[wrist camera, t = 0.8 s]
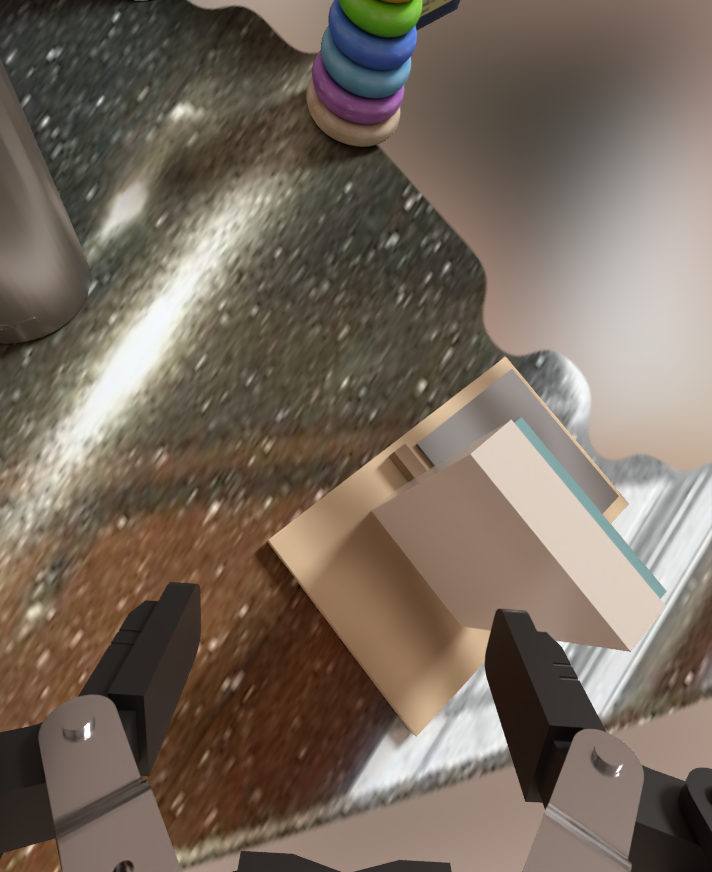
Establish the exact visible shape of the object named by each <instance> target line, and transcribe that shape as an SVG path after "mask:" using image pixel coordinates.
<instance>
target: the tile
mask: <svg viewBox="0 0 712 872" xmlns="http://www.w3.org/2000/svg"><path fill="white" fill-rule="evenodd" d="M371 511H372V513H373V514H374V515H375V516H376V518H377V519H378V520H379V522H380V523H381V524H382V525H383V527H384V528H385V529H386V531H387V532H388V533H389V534H390V536H391V537H392V538H393V540H394V541H395V542H396V543H397V545H398V546H399V547H400V548H401V550H402V551H403V552H404V554H405V555H406V556H407V557H408V559H409V560H410V561H411V563H412V564H413V565H414V566H415V568H416V569H417V570H418V572H419V573H420V574H421V575H422V577H423V578H424V579H425V581H426V582H427V583H428V584H429V586H430V587H431V588H432V589H433V591H434V592H435V593H436V595H437V596H438V597H439V598H440V600H441V601H442V602H443V604H444V605H445V606H446V607H447V609H448V610H449V611H450V613H451V614H452V615H453V616H454V618H455V619H456V620H457V622H458V623H459V624H460V625H461V626H462V627H469V628H476V629H482V630H489V631H491V628H492V623H493V619H494V615H495V612H496V610H497V609H512V610H525V611H527V612H528V613H529V615H530V617H531V619H532V621H533V623H534V626H535V628H536V630H537V631H540V632H547V633H548V634H549V635H550V636H551V637H552V638H553V639H554V640H556V641H563V642H569V643H576V644H583V645H589V646H596V647H603V648H610V649H616V650H623V651H630V652H631V651H632V650H633V648H634V647H635V646H636V645H637V643H638V642H639V641H640V639H641V638H642V637H643V635H644V634H645V633H646V632H647V630H648V629H649V628H650V626H651V625H652V624H653V622H654V621H655V620H656V619H657V617H658V616H659V615H660V613H661V612H662V611H663V610H664V608H665V607H666V606H665V604H664V603H663V602H662V601H661V600H660V599H661V598H662V596H663V595H664V594H665V593H666V590H665V589H664V588H663V587H662V585H661V584H660V583H659V582H658V580H657V579H656V578H655V577H654V576H653V574H652V573H651V572H650V571H649V570H648V568H647V567H646V566H645V565H644V564H643V562H642V561H641V560H640V559H639V558H638V556H637V555H636V554H635V553H634V552H633V550H632V549H631V548H630V547H629V546H628V544H627V543H626V542H625V541H624V540H623V538H622V537H621V536H620V535H619V534H618V532H617V531H616V530H615V529H614V528H613V526H612V525H611V524H610V523H609V522H608V520H607V519H606V518H605V517H604V516H603V514H602V513H601V512H600V511H599V509H598V508H597V507H596V506H595V505H594V503H593V502H592V501H591V500H590V499H589V497H588V496H587V495H586V494H585V493H584V491H583V490H582V489H581V488H580V487H579V485H578V484H577V483H576V482H575V481H574V479H573V478H572V477H571V476H570V475H569V473H568V472H567V471H566V470H565V469H564V467H563V466H562V465H561V464H560V463H559V461H558V460H557V459H556V458H555V457H554V455H553V454H552V453H551V452H550V451H549V449H548V448H547V447H546V446H545V445H544V443H543V442H542V441H541V440H540V438H539V437H538V436H537V435H536V434H535V432H534V431H533V430H532V429H531V428H530V426H529V425H528V424H527V423H526V422H525V420H524V419H523V418H522V417H520V418H519V419H517V420H515V421H514V422H513V421H512V420H509V421H508V422H506V423H505V424H503V425H501V426H500V427H498V428H496V429H495V430H493V431H491V432H490V433H488V434H487V435H485V436H483V437H482V438H480V439H478V440H477V441H475V442H473V443H472V444H470V445H469V446H467V447H465V448H464V449H462V450H460V451H459V452H457V453H455V454H454V455H452V456H451V457H449V458H447V459H446V460H444V461H442V462H441V463H439V464H437V465H436V466H434V467H432V468H431V469H429V470H428V471H426V472H424V473H423V474H421V475H419V476H418V477H416V478H414V479H413V480H411V481H410V482H408V483H406V484H405V485H403V486H401V487H400V488H398V489H397V490H396V491H394V492H393V493H392V494H391V495H390V496H388V497H387V498H386V499H385V500H384V501H382V502H381V503H380V504H379V505H377V506H376V507H375V508H374V509H373V510H371Z"/></svg>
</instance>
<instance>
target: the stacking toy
mask: <svg viewBox="0 0 712 872" xmlns="http://www.w3.org/2000/svg"><path fill="white" fill-rule="evenodd" d="M421 11H422V0H334V2H333V4H332V6H331V8H330V12H329V26H328V27H327V29H326V30H325V32H324V35H323V37H322V43H321V51H320V52H319V53H318V55H317V56H316V58H315V60H314V63H313V68H312V78H311V80H310V82H309V84H308V88H307V94H306V99H307V105H308V109H309V112H310V114H311V116H312V118H313V120H314V121H315V123H316V124H317V125H318V126H319V128H320V129H321V130H322V131H323V132H324V133H326V134H327V135H328V136H330V137H331V138H333V139H335V140H337V141H339V142H342V143H344V144H348V145H352V146H359V147H366V146H373V145H377V144H379V143H381V142H383V141H385V140H386V139H388V138H389V137H390V136H391V135H392V134H393V132H394V131H395V129H396V128H397V126H398V122H399V119H400V105H401V103H402V100H403V95H404V84H405V82H406V81H407V79H408V76H409V73H410V69H411V55H412V53H413V51H414V49H415V46H416V41H417V30H416V24H417V22H418V20H419V18H420V15H421Z"/></svg>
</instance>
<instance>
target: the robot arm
mask: <svg viewBox="0 0 712 872" xmlns="http://www.w3.org/2000/svg"><path fill="white" fill-rule="evenodd" d="M89 287H90V269H89V266H88V263H87V260H86V257H85V254H84V252H83V250H82V247H81V245H80V243H79V240H78V238H77V236H76V233H75V231H74V229H73V226H72V224H71V222H70V219H69V216H68V214H67V212H66V209H65V207H64V205H63V203H62V200H61V198H60V196H59V193H58V191H57V189H56V186H55V184H54V182H53V179H52V177H51V175H50V172H49V170H48V168H47V165H46V163H45V161H44V158H43V156H42V154H41V152H40V149H39V147H38V145H37V142H36V140H35V138H34V135H33V133H32V131H31V128H30V126H29V124H28V121H27V119H26V117H25V114H24V112H23V110H22V107H21V105H20V103H19V101H18V98H17V96H16V94H15V91H14V89H13V87H12V84H11V82H10V80H9V77H8V75H7V73H6V70H5V68H4V66H3V63H2V61H1V59H0V343H4V344H10V343H19V342H27V341H30V340H34V339H37V338H40V337H44V336H46V335H48V334H50V333H52V332H54V331H56V330H58V329H59V328H61V327H62V326H63V325H65V324H66V323H67V322H69V321H70V320H71V319H72V318H73V317H74V316H75V315H76V313H77V312H78V311H79V310H80V309H81V307H82V305H83V303H84V302H85V300H86V298H87V295H88V291H89ZM200 634H201V607H200V586H199V584H190V583H177V582H170V583H169V584H168V585H167V587H166V589H165V590H164V592H163V594H162V596H161V598H160V599H159V601H147V600H146V601H144V602H143V603H142V604H141V605H139V606H138V607H137V608H136V609H134V610H133V611H132V612H130V613H129V615H128V616H127V618H126V620H125V621H124V623H123V624H122V626H121V628H120V630H119V632H118V633H117V634H116V636H115V637H114V639H113V641H112V642H111V646H109V647H108V649H107V650H106V652H105V654H104V655H103V657H102V658H101V660H100V662H99V663H98V665H97V667H96V668H95V670H94V671H93V673H92V675H91V676H90V678H89V680H88V681H87V683H86V684H85V686H84V688H83V689H82V691H81V693H80V694H79V696H78V697H76V698H73V699H71V700H69V701H67V702H65V703H63V704H61V705H60V706H58V707H57V708H56V709H54V710H53V711H52V712H51V713H50V714H49V715H48V716H47V718H46V719H45V720H44V722H42V723H40V724H37V725H33V726H29V727H25V728H20V729H15V730H10V731H5V732H1V733H0V859H1V857H2V855H3V853H4V852H8V851H12V850H15V849H19V848H22V847H26V846H29V845H33V844H36V843H40V842H44V841H47V840H51V839H54V838H55V839H56V844H57V849H58V855H59V860H60V866H61V871H62V872H182V871H181V868H180V866H179V863H178V860H177V857H176V855H175V852H174V849H173V846H172V844H171V841H170V838H169V835H168V833H167V830H166V827H165V825H164V822H163V819H162V816H161V814H160V811H159V808H158V805H157V803H156V800H155V797H154V794H153V792H152V789H151V787H150V785H149V783H148V781H147V780H145V781H142V779H141V776H149V775H150V773H151V770H152V768H153V765H154V763H155V760H156V757H157V755H158V752H159V750H160V747H161V745H162V742H163V739H164V737H165V734H166V732H167V729H168V727H169V724H170V721H171V719H172V716H173V714H174V711H175V708H176V706H177V703H178V701H179V698H180V696H181V693H182V690H183V688H184V685H185V683H186V680H187V678H188V675H189V672H190V670H191V667H192V665H193V662H194V659H195V657H196V654H197V651H198V647H199V642H200ZM485 672H486V677H487V680H488V683H489V687H490V690H491V693H492V696H493V699H494V703H495V706H496V709H497V712H498V715H499V719H500V722H501V725H502V728H503V731H504V735H505V738H506V741H507V744H508V747H509V751H510V754H511V757H512V760H513V763H514V767H515V770H516V773H517V776H518V779H519V783H520V786H521V789H522V792H523V795H524V799H525V801H526V802H541V803H543V805H544V808H545V813H544V816H543V819H542V821H541V824H540V826H539V829H538V832H537V835H536V837H535V839H534V842H533V845H532V847H531V850H530V853H529V855H528V858H527V861H526V863H525V866H524V868H523V871H522V872H712V769H709V768H696V769H694V770H692V771H691V772H690V773H689V775H688V777H687V779H686V781H683V780H680V779H677V778H675V777H672V776H669V775H666V774H663V773H661V772H658V771H655V770H652V769H650V768H647V767H645V766H643V765H641V763H640V761H639V759H638V758H637V756H636V755H635V754H634V752H633V751H632V750H631V749H630V748H629V747H628V746H627V745H626V744H625V743H623V742H622V741H621V740H619V739H618V738H616V737H615V736H613V735H611V734H609V733H607V732H606V730H605V728H604V727H603V725H602V723H601V721H600V719H599V717H598V715H597V713H596V711H595V709H594V708H593V706H592V704H591V702H590V700H589V698H588V696H587V694H586V692H585V690H584V689H583V687H582V685H581V683H580V681H578V677H577V675H576V673H575V671H574V669H573V668H572V667H571V666H570V662H569V660H568V658H567V656H566V654H565V652H564V650H563V649H562V647H561V646H560V645H559V644H558V643H557V642H556V641H555V640H554V639H553V638H552V637H551V636H550V635H549V634H548V633H547V632H540V631H537V630H536V628H535V626H534V623H533V621H532V619H531V617H530V615H529V613H528V612H527V611H525V610H512V609H497V610H496V612H495V615H494V619H493V623H492V628H491V632H490V636H489V640H488V644H487V648H486V653H485ZM233 872H340V871H337V870H335V869H332V868H329V867H327V866H324V865H321V864H319V863H316V862H313V861H310V860H308V859H305V858H302V857H300V856H297V855H294V854H285V853H267V852H250V851H241V854H240V860H239V865H238V870H237V871H233ZM355 872H451V866H450V863H442V862H424V861H407V860H398V861H394V862H390V863H386V864H382V865H378V866H375V867H371V868H367V869H363V870H360V871H355Z"/></svg>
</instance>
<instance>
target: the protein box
mask: <svg viewBox="0 0 712 872" xmlns="http://www.w3.org/2000/svg"><path fill="white" fill-rule="evenodd" d="M459 2H460V0H422V11H421V15H420V18H419V20H418V22H417V24H416V30H418V29H420V28H422V27H424V26H426V25H428V24H430V23H432V22H433V21H435V20H437V19H439V18H440V17H443V16H444V15H446V14H448V13H450V12H452V11H454V10H456V9H457V8H458V4H459Z"/></svg>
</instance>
